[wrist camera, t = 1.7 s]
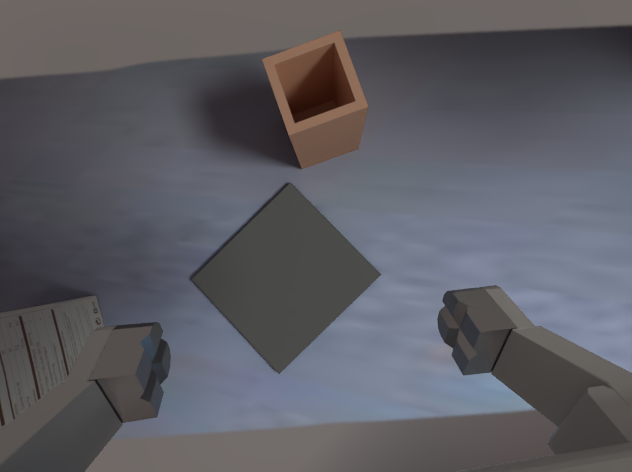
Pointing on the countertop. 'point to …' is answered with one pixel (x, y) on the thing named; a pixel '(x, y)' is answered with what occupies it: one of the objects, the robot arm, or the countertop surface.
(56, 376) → the supplement box
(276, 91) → the open square container
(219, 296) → the mat
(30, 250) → the countertop surface
